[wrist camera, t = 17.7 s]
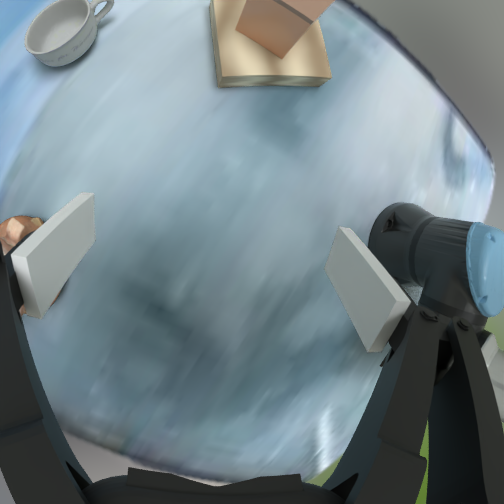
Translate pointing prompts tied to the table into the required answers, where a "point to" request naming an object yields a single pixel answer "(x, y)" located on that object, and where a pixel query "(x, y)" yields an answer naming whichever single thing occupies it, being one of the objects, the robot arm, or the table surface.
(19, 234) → the ceramic jug
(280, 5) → the pink square box
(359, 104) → the table surface
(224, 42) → the birch box
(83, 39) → the teacup
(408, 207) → the robot arm
